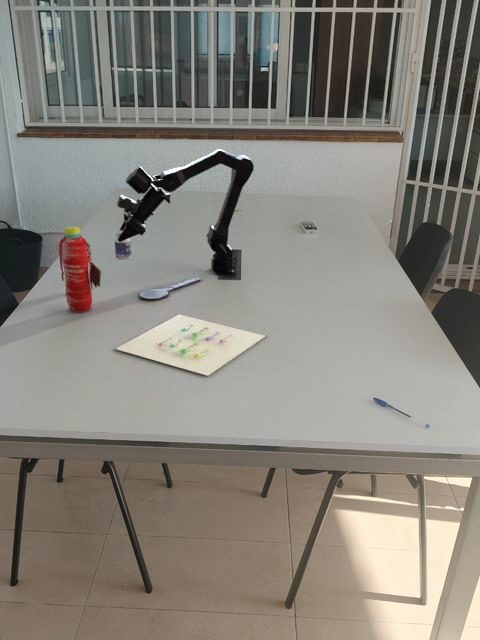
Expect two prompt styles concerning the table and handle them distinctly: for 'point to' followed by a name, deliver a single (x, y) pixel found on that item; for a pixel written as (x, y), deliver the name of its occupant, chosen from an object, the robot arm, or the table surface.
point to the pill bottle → (122, 247)
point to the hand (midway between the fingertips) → (118, 238)
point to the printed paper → (191, 344)
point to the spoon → (165, 290)
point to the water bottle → (77, 270)
